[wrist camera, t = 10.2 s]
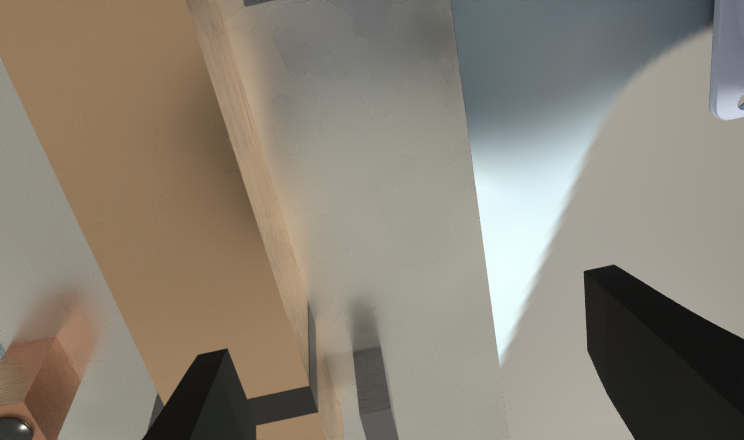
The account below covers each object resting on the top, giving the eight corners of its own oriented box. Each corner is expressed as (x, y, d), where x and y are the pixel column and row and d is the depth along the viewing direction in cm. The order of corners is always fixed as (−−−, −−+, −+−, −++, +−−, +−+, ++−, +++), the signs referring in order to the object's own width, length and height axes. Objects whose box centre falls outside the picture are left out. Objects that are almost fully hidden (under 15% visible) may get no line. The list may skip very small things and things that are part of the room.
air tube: (343, 421, 25) (350, 514, 21) (237, 443, 25) (226, 540, 21) (185, -112, 16) (153, -104, 13) (22, -75, 16) (-55, -57, 13)
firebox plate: (396, -323, 16) (430, -385, 12) (498, 410, 27) (533, 506, 23) (-261, -174, 16) (-452, -184, 12) (117, 492, 28) (85, 602, 23)
